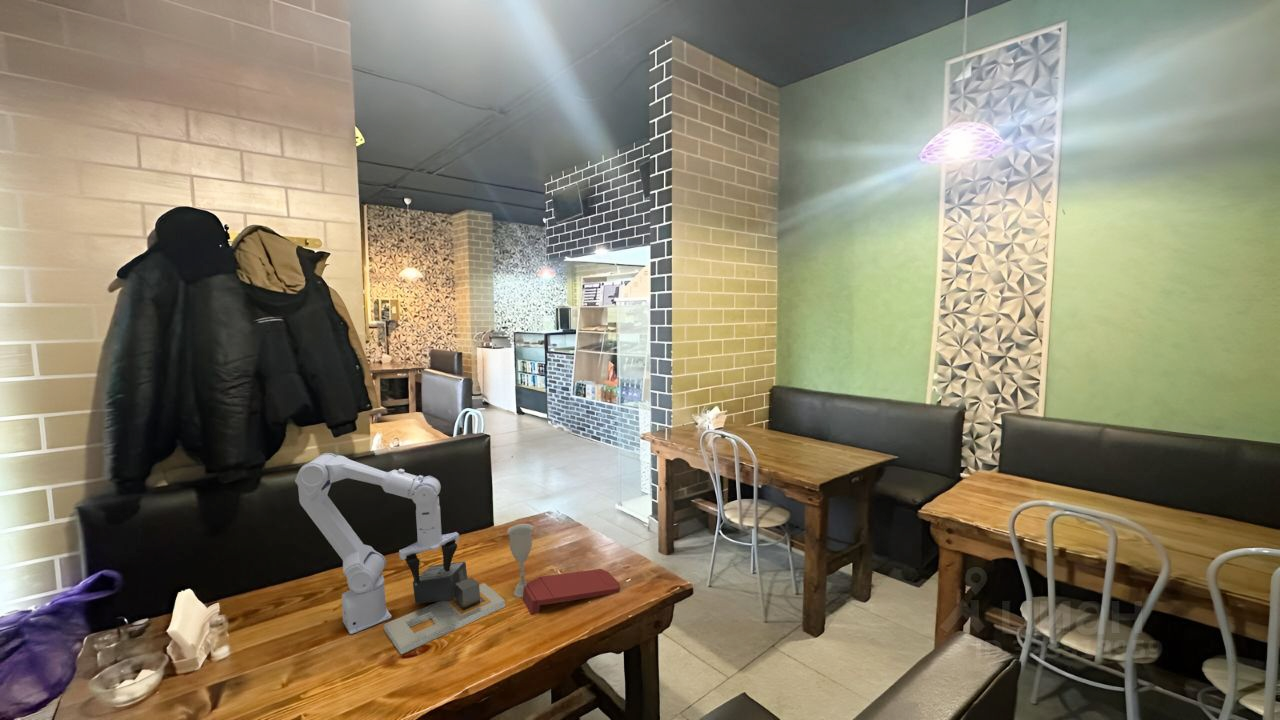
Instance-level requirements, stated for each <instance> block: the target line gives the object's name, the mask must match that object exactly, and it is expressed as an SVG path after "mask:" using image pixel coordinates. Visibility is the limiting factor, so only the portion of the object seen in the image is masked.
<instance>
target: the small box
mask: <svg viewBox="0 0 1280 720" xmlns="http://www.w3.org/2000/svg"><path fill="white" fill-rule="evenodd" d="M419 577H420V582H419V583H416V582H415V581H414V580H413V582H412V586H413V587H412V588H413V596H414V603H415V605H419V604H426V603H434V602H435V603H436V602H439V601H442V600H450V599H454V598H455V597H456V587H455V584H456V583H458V582H461V581H464V580H466V579H468V571H467V564H466V561H458V562H451V565H450V571H449V572H446V571H445V570H444V567H443V563H442V564H435V565H429V566H428V567H427V568H426V569H425V570H424V571H423V572H422V573H421V574H419Z"/></svg>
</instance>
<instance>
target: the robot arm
mask: <svg viewBox="0 0 1280 720" xmlns="http://www.w3.org/2000/svg"><path fill="white" fill-rule="evenodd" d="M345 479H351V480H356V481H360V482H364V483H368V484H372V485H376V486H377V485H378V486H381V488H382V490H383V492H384V493H386V494H387V493H388V494H392V495H395V496H400V497H401V498H402V497H403V498H406V499H410V500H412V502H413V503H414V504H415V508H416V509H415V517H416V518H415V520H416V533H417V541H416V542H414V543H412V544H410V545H408V546H407V547H404V548H402V549H401V548H400V549H399V550H398V553H399V556H398V557H399V559H400V560H402V561H404V560H405V562H406V564H407V566H408V567H409V569H410V571H411V572H410V573H411V575H412V577H413V581H415V582H416V583H419V582H420V577H419V576H420V559H419V558H418V555H417V554H420V553H421V554H422V553H424V552H427V551H430V550H431V551H435V550H437V549H440V547H441V551H442V564H443V567H444V570H445V571H446V572H449V571H450V565H451V563H452V560H453V557H454V555H455V553H456V551H457V549H458V544H457V542H460V533H458V532H457V531H455V532H451V533H446V534H442V522H441V521H442V520H441V518H442V517H441V506H440V496H438V495H439V494H440V493H441V488H442V486H441V483H440V480H439V479H437V478H436V477H434V476H432V475H427V476H424V475H421V474H419V475H415V474H411V473H408V472H405V469H403V468H399V469H398V470H397V469H393V470H390V471H384V470H381V469H378V468H375V467H372V466H369V465H366V464H364V463H361V462H358V461H354V460H352V459H349V457H346V456H344V455H339V454H338V455H336V454H334V453H331V452H324V453H321V454H320V455H318V456H317V457H316V458H314V459H313V460H312V461H310V462H307V463H305V464H304V465H302V466H301V467H300V468H299V471H298V473H297V474H296V477H295V478H294V482H295V484H296V485H297V489H298V490H297V491H298V501H299V504H300V506H301V507H302V508H303V510H304V511H305V512H306V513H307V515H308V516H309V517H310V519H311V520H312V522H313V523H314V524H315V525H316V527H317V528H318V529H319V531H320V532H321V533H322V535H323V536H324V537H325V539H326V540H327V541H328V543H329V544H330V546H332V548H333V550H335V552H336V553H337V554H338V556H339V557H340V559H341V560H342V574H344V576H345V578H346V581H347V582H346V583H347V586H348V588H349V590H347V591H345V592H343V593H342V594H341V608H342V609H341V610H342V623H343V624H344V626H345V628H346V630H347V632H348V633H349V634H350V635H353V634H355V633H358V632H360V631H363V630H366V629H369V628H370V627H373V626H375V625H378V624H380V623H381V624H382V623H383V622H386V621H387V620H390V619H392V614H391V613H390V611H389V610H388V609H387V604H386V603H387V602H386V587H385V578H384V576H383V573H382V572H383V571H384V570H385V568H386V564H387V560H386V558H385V556H384V555H383V554H381V553H380V552H378V551H376V550H375V549H374V548H373V547H372V546H371V545H368V544H364V543H363V541H362V540H361V538H360V537H359V536H358V534H357V533H356V532H355V531H354V530H353V528H352V526H351V525H350V524H349V523H348V521H347V520H346V518H345V517H344V516H343V515H342V513H341V512H340V510H339V509H338V508H337V506H336V505H335V504H334V502H333V501H332V500H331V498H330V496H328V494H329V490H330V488H331V485H332V483H336V482H338V481H342V480H345Z"/></svg>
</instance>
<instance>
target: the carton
mask: <svg viewBox="0 0 1280 720" xmlns="http://www.w3.org/2000/svg"><path fill="white" fill-rule="evenodd" d="M527 582H528V581H527ZM619 589H620V581H618V580H617V579H616V578H615V577H614V576H613V575H612V574H611V573H610V572H609V571H607V570H604V569H602V568H598V569H597V568H596V569H590V570H583V571H582V570H581V571H574V572H565V573H558V574H552V575H551V574H550V575H543V576H538V577H536V578H534V579H533V580H531V581H529V582H528V583H527V586H524V590H523V597H522V601H523V604H524V605H525V607H526V609H527V610H528V612H529V615H531V616H533V615H537V614H539V613H540V607H541V605H550V604H557V603H563V602H564V603H565V602H570V601H576V600H583V599H589V598H595V597H600V596H601V597H603V596H608V595H613V594H616V593H617V594H618V593H619V591H620V590H619Z"/></svg>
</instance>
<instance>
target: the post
mask: <svg viewBox="0 0 1280 720" xmlns="http://www.w3.org/2000/svg"><path fill="white" fill-rule="evenodd" d="M479 585H480V583H479V582H478V581H477V580H476V579H475V578H474V577H469V578H467V579H466V580H464V581H461V582H458V583H456V584H455V587H456V604H457V605H458V606H459V607H460V608H461V609H462V610H463V611H464V610H466V609H469V608H471V607H473V606H475V605H478V604H480V589H479Z"/></svg>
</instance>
